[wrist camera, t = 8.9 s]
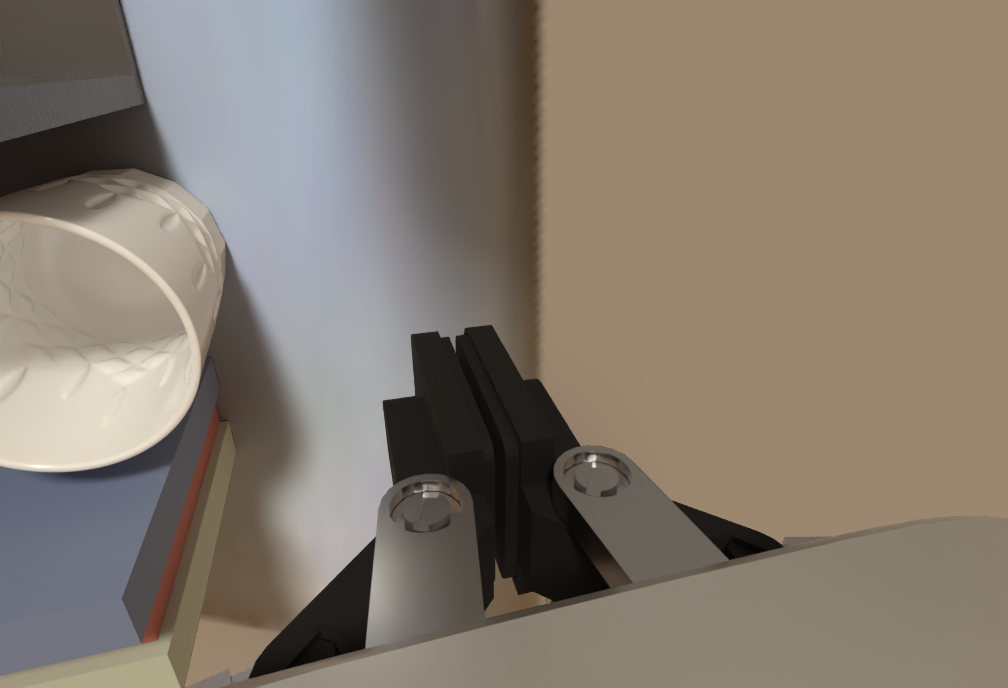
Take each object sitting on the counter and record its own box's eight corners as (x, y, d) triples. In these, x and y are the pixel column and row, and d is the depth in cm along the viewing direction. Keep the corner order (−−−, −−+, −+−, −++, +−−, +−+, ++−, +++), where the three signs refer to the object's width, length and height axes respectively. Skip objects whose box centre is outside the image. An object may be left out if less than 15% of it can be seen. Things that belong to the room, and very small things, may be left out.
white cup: (190, 362, 27) (129, 506, 18) (-8, 278, 23) (-201, 409, 15) (275, 222, 25) (250, 309, 17) (75, 108, 22) (-87, 144, 13)
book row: (-42, 386, 25) (-391, 702, 13) (211, 356, 27) (121, 598, 15) (8, 487, 27) (-244, 832, 15) (236, 451, 30) (176, 725, 18)
